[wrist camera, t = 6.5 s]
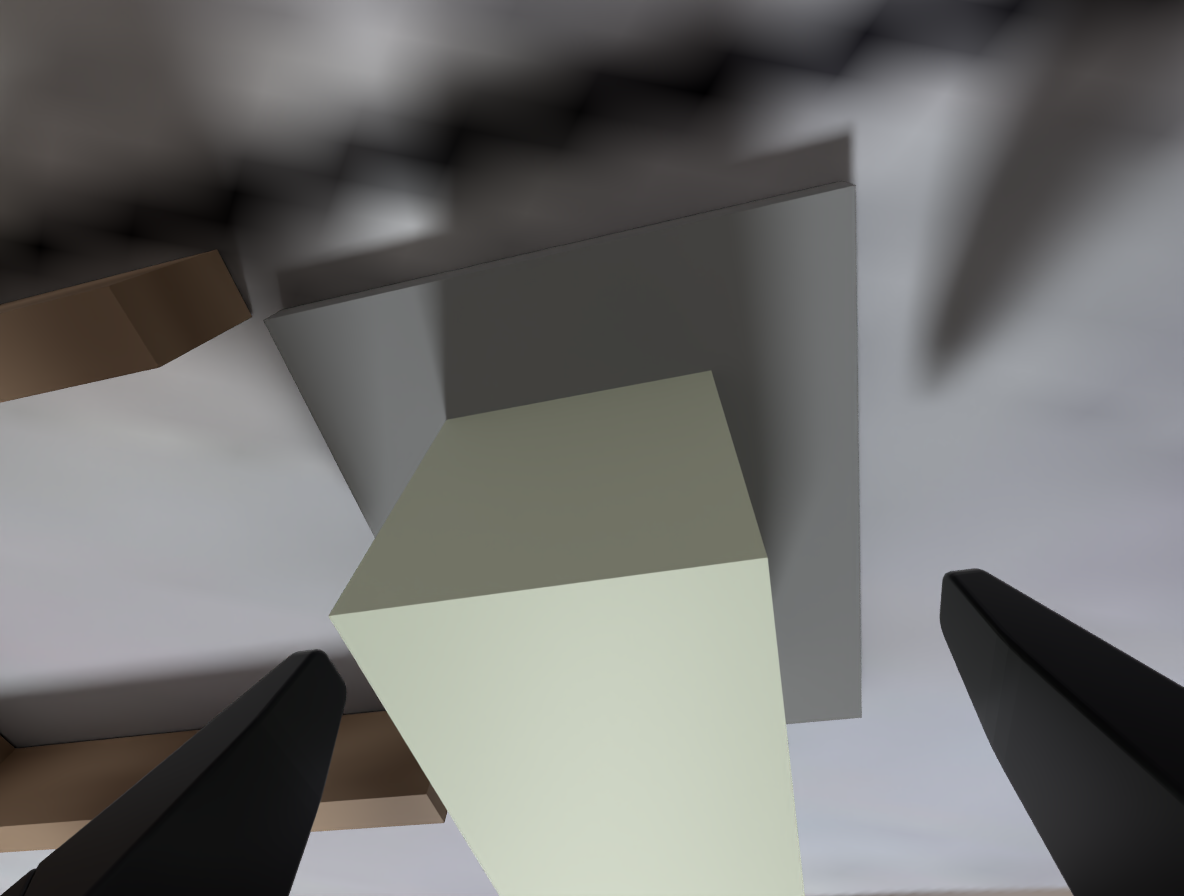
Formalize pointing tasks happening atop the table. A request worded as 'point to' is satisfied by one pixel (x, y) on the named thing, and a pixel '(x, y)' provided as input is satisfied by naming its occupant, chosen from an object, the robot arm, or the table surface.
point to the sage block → (588, 647)
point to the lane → (112, 766)
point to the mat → (637, 382)
